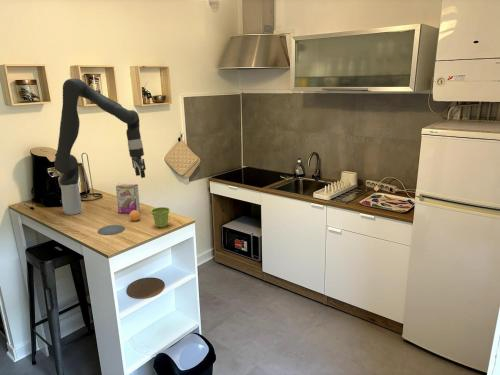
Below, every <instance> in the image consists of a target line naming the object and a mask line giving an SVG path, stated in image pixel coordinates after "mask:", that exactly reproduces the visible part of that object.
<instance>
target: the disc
mask: <svg viewBox="0 0 500 375" xmlns="http://www.w3.org/2000/svg"><path fill="white" fill-rule="evenodd" d="M125 228H126V227H125V226H124V225H121V224H112V225H106V226H102V227H101V228H99V229H98V230H97V233H98V234H99V235H102V236H113V235H117V234H119V233H122V232H124V231H125Z"/></svg>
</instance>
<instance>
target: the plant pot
mask: <svg viewBox="0 0 500 375" xmlns="http://www.w3.org/2000/svg"><path fill="white" fill-rule="evenodd" d="M170 209H171V208H170V207H162V206H160V207H154V208H152V209H151V210H150V212H151V214H152V216H153V220H154V225H155V228H159V227H161V228H166V227H167V226H168V224H169V223H168V222H169V213H170V211H171V210H170Z"/></svg>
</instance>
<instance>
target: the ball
mask: <svg viewBox="0 0 500 375" xmlns="http://www.w3.org/2000/svg"><path fill="white" fill-rule="evenodd" d="M128 214H129V215H128V216H129V218H130V220H131V221H134V222H136V221H138V220H140V218H141V213H140V211H139V212H138V211H137V210H133V211H131V212H130V213H128Z"/></svg>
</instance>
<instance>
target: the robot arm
mask: <svg viewBox="0 0 500 375" xmlns="http://www.w3.org/2000/svg"><path fill="white" fill-rule="evenodd" d="M79 97H81V98H83V99H86V100H89V101H90V102H92V103H93V104H94V105H96V106H97V107H98V108H100V109H101V110H103V111H104V112H107V113H108V114H109V115H112V116H114V117H115V118H116V119H118V120H120V121H121V122H122V123H125V124H126V126H127V128H126V132H125V133H126V139H127V147H128V148H127V149H128V153H129V157H130V158H131V164H132V168H133V170H134V172H135V176H136V177H138V176H140V178H141V179H143V178H146V174H145V172H146V170H147V169H146V168H147V167H146V163H145V159H144V158H142V157H144V155H145V152H144V145H143V140H142V137H141V131H140V116H139V114H138V112H137V111H135V110H133V109H132V110H129V109H127V108H125V107H123V105H121V103H119V102H117V101H115V100H113V99H111V98H110V97H107V96H106V95H104V94H103V93H100V92H99V91H97V90H95V88H92V87H91V86H90V85H89V84H88V83H86V82H84V81H83V80H82V79H80V78H68V79H66V80H65V81H64V83H63V84H62V109H61V117H60V125H59V134H58V135H59V136H58V142H57V149H56V154H55V159H54V164H53V165H54V168H55V170H56V171H57V172H58V173H59V174H62V176H61V178H60V179H59V182H60V184H59V185H60V189H61V203H62V210H63V213H64V214H65V215H68V216H71V215H77V214H80V213H82V212H83V208H82V200H81V199H82V198H81V192H80V186H79V185H80V184H79V179H80V178H79V177H80V171H79V170H80V169H79V162H78V160H77V158H76V156H75V155H72V149H73V147H74V144H75V143H76V141H77V138H78V136H79V133H80V122H81V121H80V117H79V113H78V101H79Z"/></svg>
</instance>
